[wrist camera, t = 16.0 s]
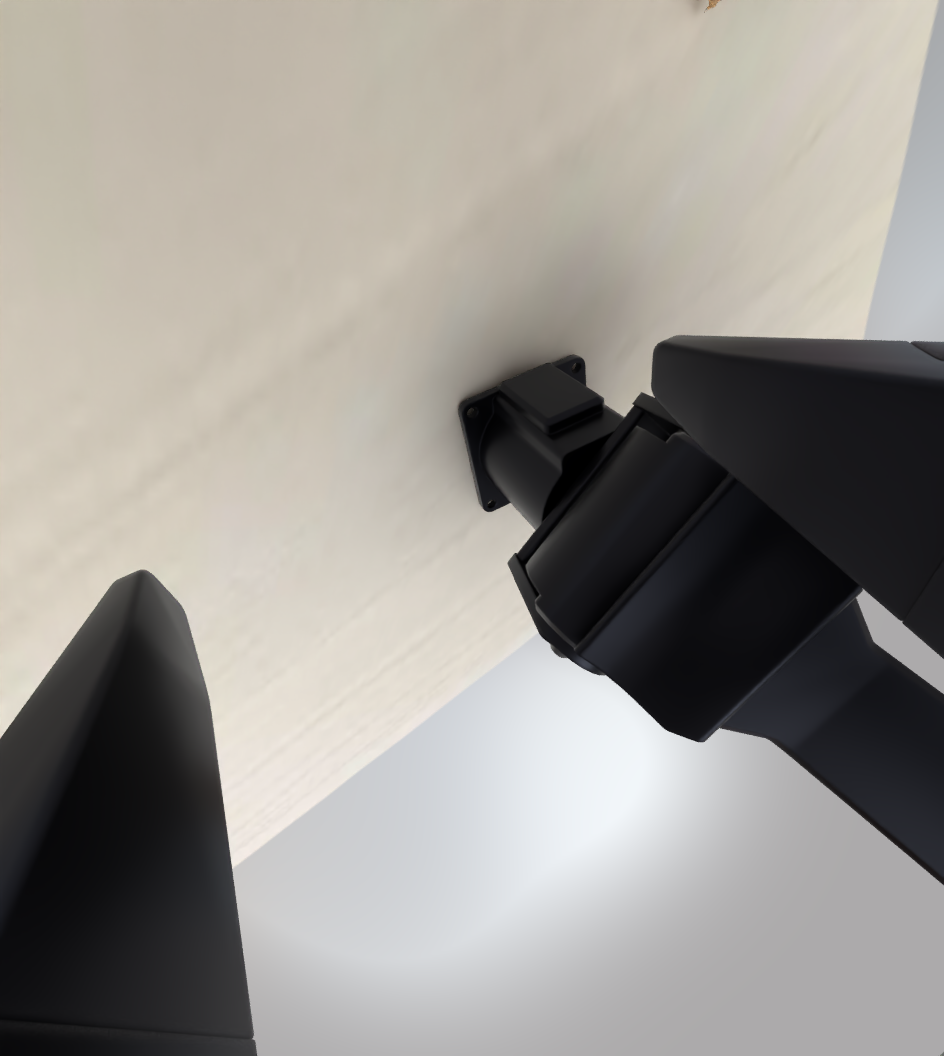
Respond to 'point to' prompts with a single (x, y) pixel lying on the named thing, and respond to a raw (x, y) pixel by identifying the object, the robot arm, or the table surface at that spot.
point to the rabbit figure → (711, 4)
